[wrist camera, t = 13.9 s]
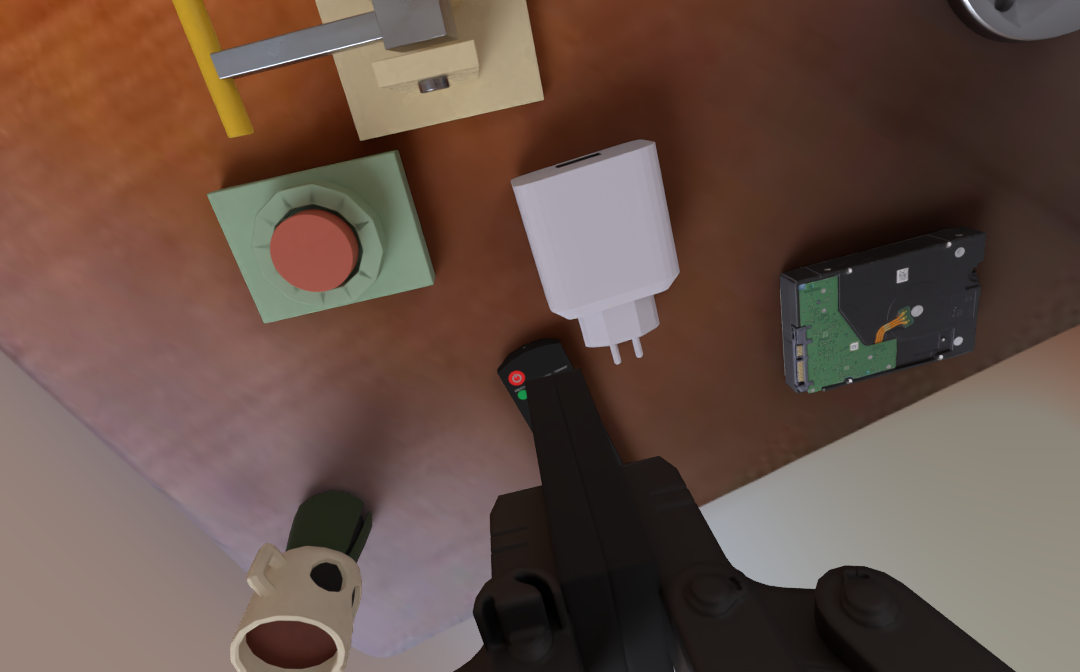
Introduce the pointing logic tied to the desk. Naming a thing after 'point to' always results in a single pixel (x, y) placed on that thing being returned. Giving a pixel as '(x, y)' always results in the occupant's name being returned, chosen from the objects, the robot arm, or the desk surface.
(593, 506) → the robot arm
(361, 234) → the button box
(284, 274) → the button
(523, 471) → the desk surface
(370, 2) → the bracket
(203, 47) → the t-handle lever
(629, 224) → the charger
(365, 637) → the desk surface
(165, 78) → the desk surface
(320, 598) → the character mug
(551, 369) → the remote control
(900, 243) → the disk drive
